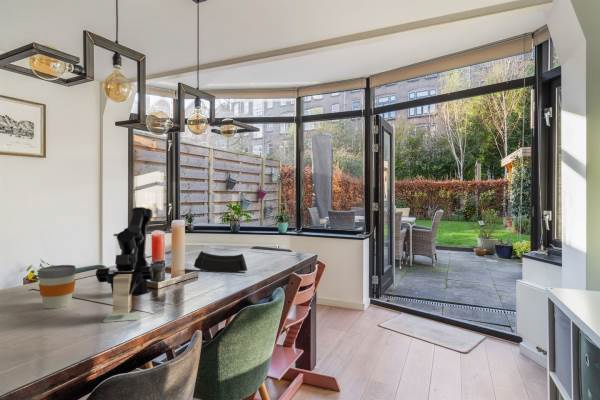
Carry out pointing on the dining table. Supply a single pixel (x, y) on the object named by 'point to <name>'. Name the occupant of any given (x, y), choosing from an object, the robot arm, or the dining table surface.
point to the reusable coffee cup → (57, 285)
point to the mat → (122, 317)
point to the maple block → (122, 293)
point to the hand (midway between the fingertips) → (121, 294)
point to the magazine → (220, 263)
